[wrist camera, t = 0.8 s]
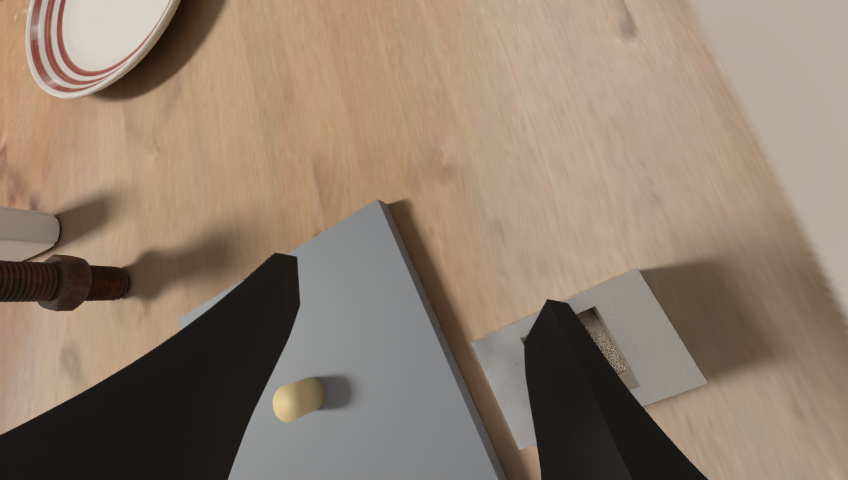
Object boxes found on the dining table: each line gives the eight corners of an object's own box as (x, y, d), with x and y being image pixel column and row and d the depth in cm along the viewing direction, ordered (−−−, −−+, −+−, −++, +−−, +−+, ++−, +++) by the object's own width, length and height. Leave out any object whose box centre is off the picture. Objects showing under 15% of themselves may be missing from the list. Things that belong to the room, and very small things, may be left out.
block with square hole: (681, 366, 20) (707, 383, 17) (526, 424, 23) (519, 450, 19) (624, 272, 22) (637, 268, 18) (485, 335, 24) (470, 342, 20)
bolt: (125, 244, 37) (-139, 214, 23) (148, 278, 35) (-123, 269, 21) (94, 288, 38) (-180, 285, 24) (115, 324, 36) (-168, 343, 22)
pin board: (513, 493, 22) (503, 534, 19) (260, 576, 27) (212, 620, 24) (387, 204, 28) (359, 190, 24) (195, 317, 33) (148, 320, 29)
